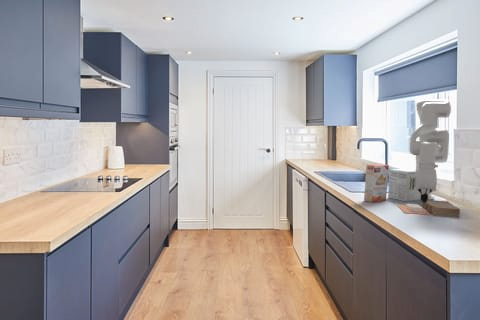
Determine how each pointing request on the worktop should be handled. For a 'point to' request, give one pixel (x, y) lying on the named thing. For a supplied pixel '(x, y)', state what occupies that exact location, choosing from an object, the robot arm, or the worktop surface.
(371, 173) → the cracker box
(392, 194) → the supplement box
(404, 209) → the rubber mat
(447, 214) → the walnut block
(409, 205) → the ceramic tile
